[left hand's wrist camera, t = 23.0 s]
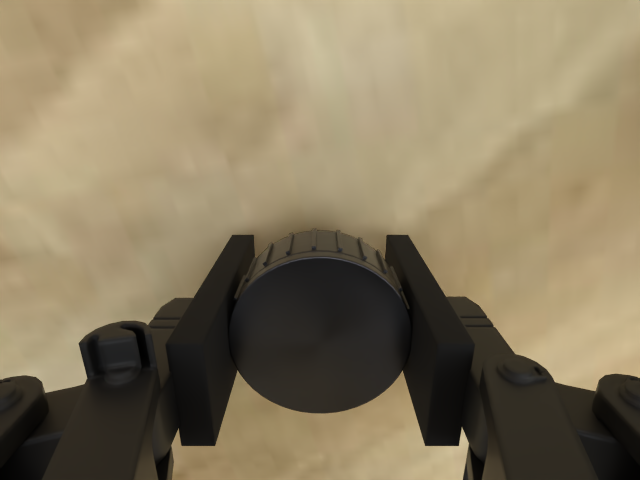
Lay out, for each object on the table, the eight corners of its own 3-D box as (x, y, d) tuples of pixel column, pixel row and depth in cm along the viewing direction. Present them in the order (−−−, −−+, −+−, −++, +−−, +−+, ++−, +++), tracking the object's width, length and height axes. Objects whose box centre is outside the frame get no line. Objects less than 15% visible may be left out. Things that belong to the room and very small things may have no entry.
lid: (364, 387, 13) (372, 434, 11) (220, 345, 13) (204, 388, 11) (427, 259, 12) (448, 290, 10) (266, 203, 11) (255, 226, 9)
